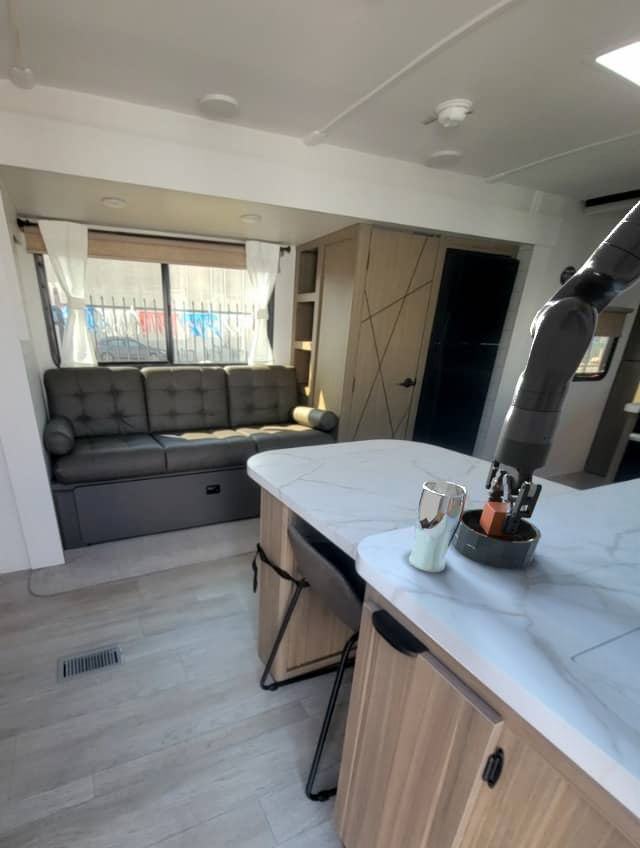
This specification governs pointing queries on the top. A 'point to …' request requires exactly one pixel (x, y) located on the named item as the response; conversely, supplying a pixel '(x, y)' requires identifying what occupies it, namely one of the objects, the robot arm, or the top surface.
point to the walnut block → (502, 537)
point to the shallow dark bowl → (496, 543)
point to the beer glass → (436, 523)
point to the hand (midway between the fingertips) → (498, 524)
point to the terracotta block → (493, 517)
